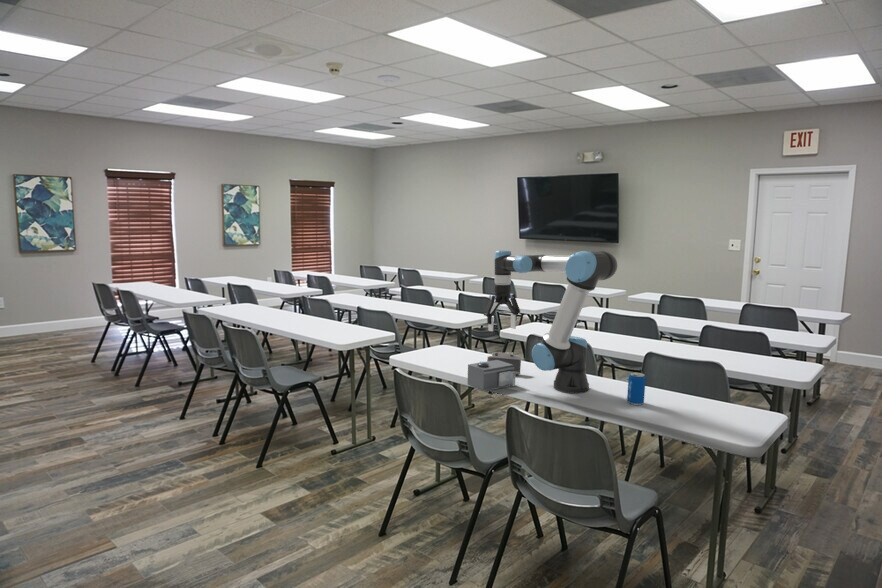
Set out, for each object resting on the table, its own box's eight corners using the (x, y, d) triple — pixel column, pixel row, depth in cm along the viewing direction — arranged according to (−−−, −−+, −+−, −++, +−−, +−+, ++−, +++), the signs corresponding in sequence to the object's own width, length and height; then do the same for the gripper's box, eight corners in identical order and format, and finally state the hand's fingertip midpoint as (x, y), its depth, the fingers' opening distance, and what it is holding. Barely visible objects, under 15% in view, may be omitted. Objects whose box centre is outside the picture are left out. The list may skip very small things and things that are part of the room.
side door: (515, 385, 248) (515, 371, 247) (503, 388, 244) (503, 374, 243) (510, 383, 250) (510, 370, 249) (498, 386, 246) (498, 372, 245)
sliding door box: (514, 385, 251) (515, 361, 250) (484, 391, 241) (485, 366, 240) (496, 378, 261) (497, 356, 259) (467, 384, 251) (468, 360, 250)
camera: (520, 374, 265) (521, 352, 268) (486, 371, 267) (488, 349, 270) (519, 377, 274) (520, 356, 277) (486, 374, 276) (488, 353, 279)
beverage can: (623, 401, 230) (625, 372, 229) (636, 400, 233) (638, 371, 231) (634, 406, 224) (636, 377, 223) (647, 404, 227) (649, 375, 225)
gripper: (517, 282, 270) (516, 326, 272) (476, 284, 256) (476, 331, 258) (528, 283, 264) (527, 328, 266) (486, 286, 250) (486, 333, 252)
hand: (502, 329), depth 262 cm, fingers open, 13 cm apart
